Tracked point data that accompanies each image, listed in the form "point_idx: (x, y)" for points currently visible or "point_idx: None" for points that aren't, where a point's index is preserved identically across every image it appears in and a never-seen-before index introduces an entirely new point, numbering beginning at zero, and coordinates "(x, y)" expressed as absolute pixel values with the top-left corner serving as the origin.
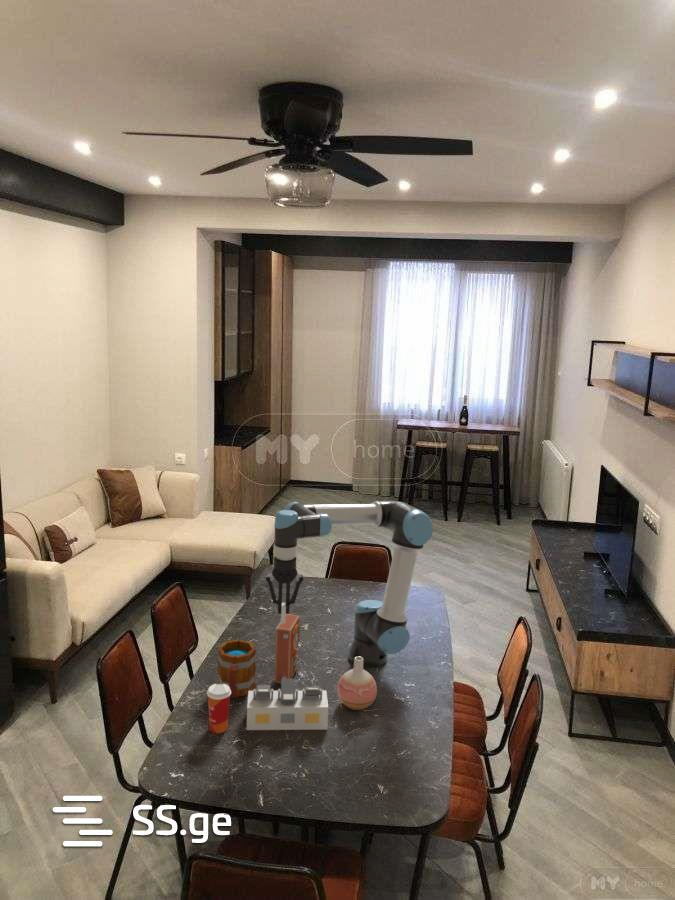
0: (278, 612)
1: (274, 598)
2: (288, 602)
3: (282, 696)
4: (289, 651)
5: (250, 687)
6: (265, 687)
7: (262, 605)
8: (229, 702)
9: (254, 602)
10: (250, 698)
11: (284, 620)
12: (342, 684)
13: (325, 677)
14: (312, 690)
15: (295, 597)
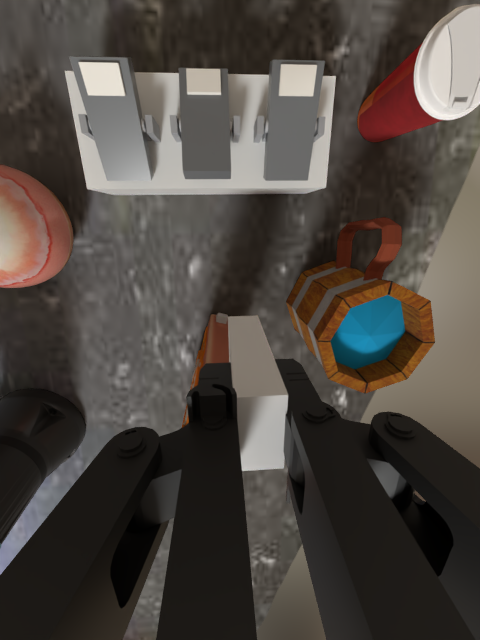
0: (295, 365)
1: (444, 477)
2: (201, 437)
3: (224, 87)
4: (209, 351)
5: (300, 285)
6: (283, 145)
7: (269, 568)
8: (397, 81)
9: (283, 574)
10: (322, 138)
11: (236, 326)
12: (29, 206)
13: (129, 345)
14: (102, 57)
15: (51, 530)
